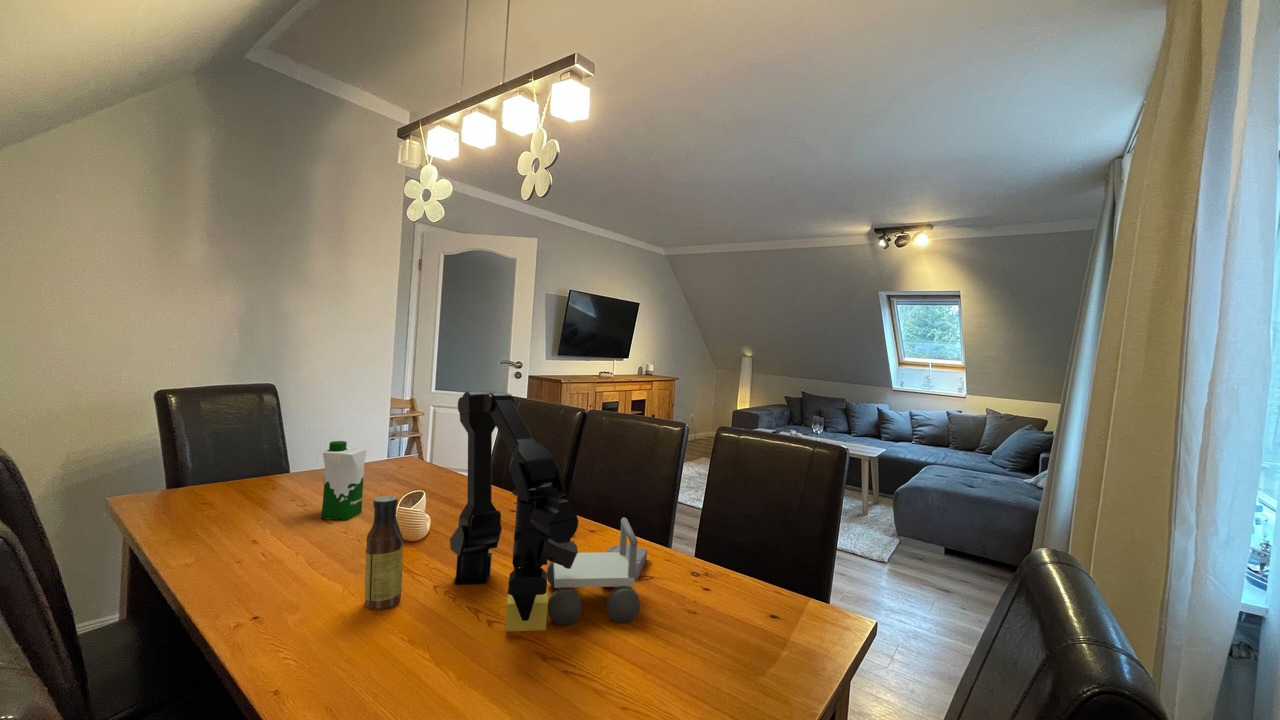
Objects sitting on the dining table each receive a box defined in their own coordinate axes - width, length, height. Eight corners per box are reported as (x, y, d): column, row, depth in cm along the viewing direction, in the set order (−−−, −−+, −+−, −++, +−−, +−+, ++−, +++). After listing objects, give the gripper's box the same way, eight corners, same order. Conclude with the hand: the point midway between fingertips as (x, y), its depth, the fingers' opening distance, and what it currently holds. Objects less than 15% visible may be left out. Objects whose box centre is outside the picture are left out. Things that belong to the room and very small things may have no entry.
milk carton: (335, 509, 144) (339, 438, 144) (367, 511, 144) (371, 441, 144) (315, 519, 136) (319, 444, 135) (349, 522, 135) (353, 447, 135)
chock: (505, 632, 90) (507, 604, 90) (506, 618, 94) (508, 591, 94) (545, 630, 91) (547, 602, 91) (545, 617, 96) (547, 590, 96)
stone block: (597, 583, 115) (641, 580, 113) (595, 561, 115) (638, 558, 113) (610, 563, 127) (649, 561, 125) (607, 544, 127) (647, 541, 125)
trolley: (547, 625, 92) (552, 543, 92) (546, 584, 108) (550, 513, 108) (639, 622, 96) (644, 542, 95) (625, 583, 111) (630, 514, 111)
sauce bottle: (408, 599, 98) (414, 496, 98) (382, 614, 92) (388, 505, 92) (381, 592, 100) (387, 491, 100) (354, 606, 95) (360, 499, 94)
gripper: (580, 544, 85) (573, 637, 85) (573, 508, 103) (568, 585, 103) (510, 545, 83) (504, 640, 83) (516, 507, 101) (511, 586, 101)
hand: (525, 610), depth 93 cm, fingers open, 7 cm apart
